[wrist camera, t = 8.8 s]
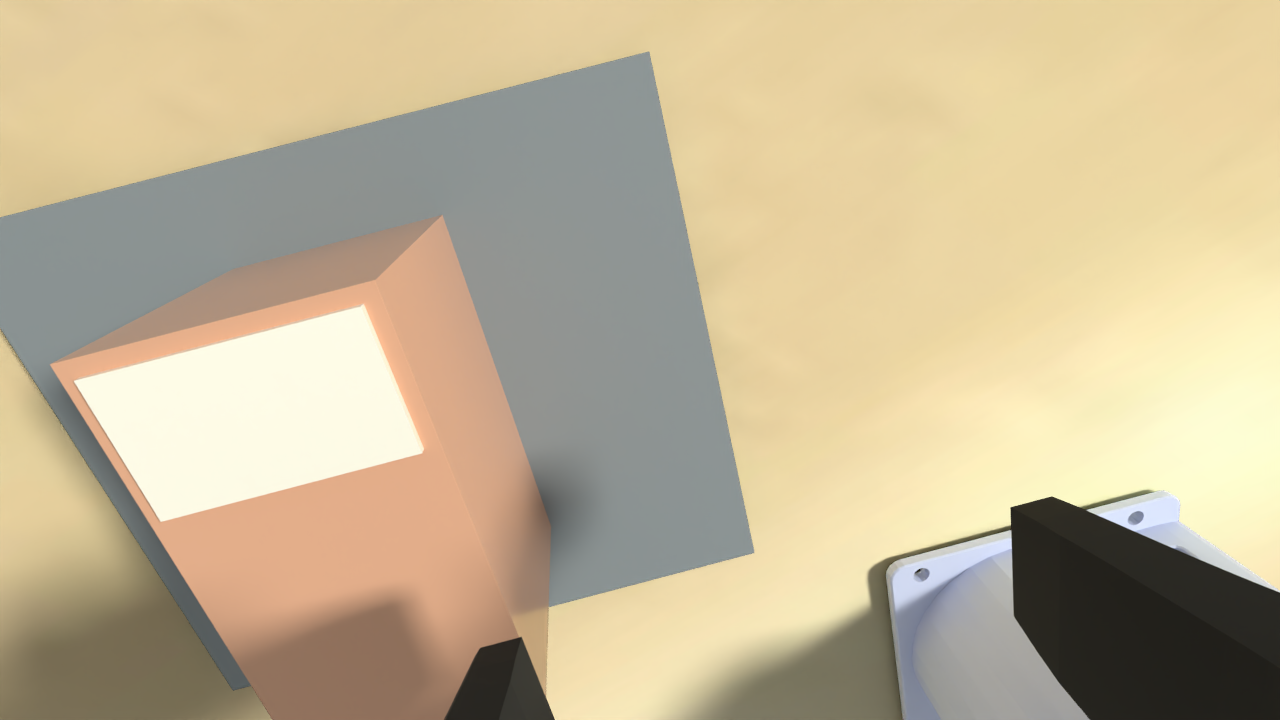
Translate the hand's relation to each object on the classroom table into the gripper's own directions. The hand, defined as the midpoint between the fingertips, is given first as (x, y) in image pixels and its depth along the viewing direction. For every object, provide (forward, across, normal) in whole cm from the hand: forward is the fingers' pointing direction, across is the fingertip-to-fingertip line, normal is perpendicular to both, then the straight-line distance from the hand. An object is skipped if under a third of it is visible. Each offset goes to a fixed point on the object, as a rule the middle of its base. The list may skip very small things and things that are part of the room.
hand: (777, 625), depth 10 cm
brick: (+9, +7, -1) cm, 11 cm away
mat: (+9, +7, -1) cm, 12 cm away
